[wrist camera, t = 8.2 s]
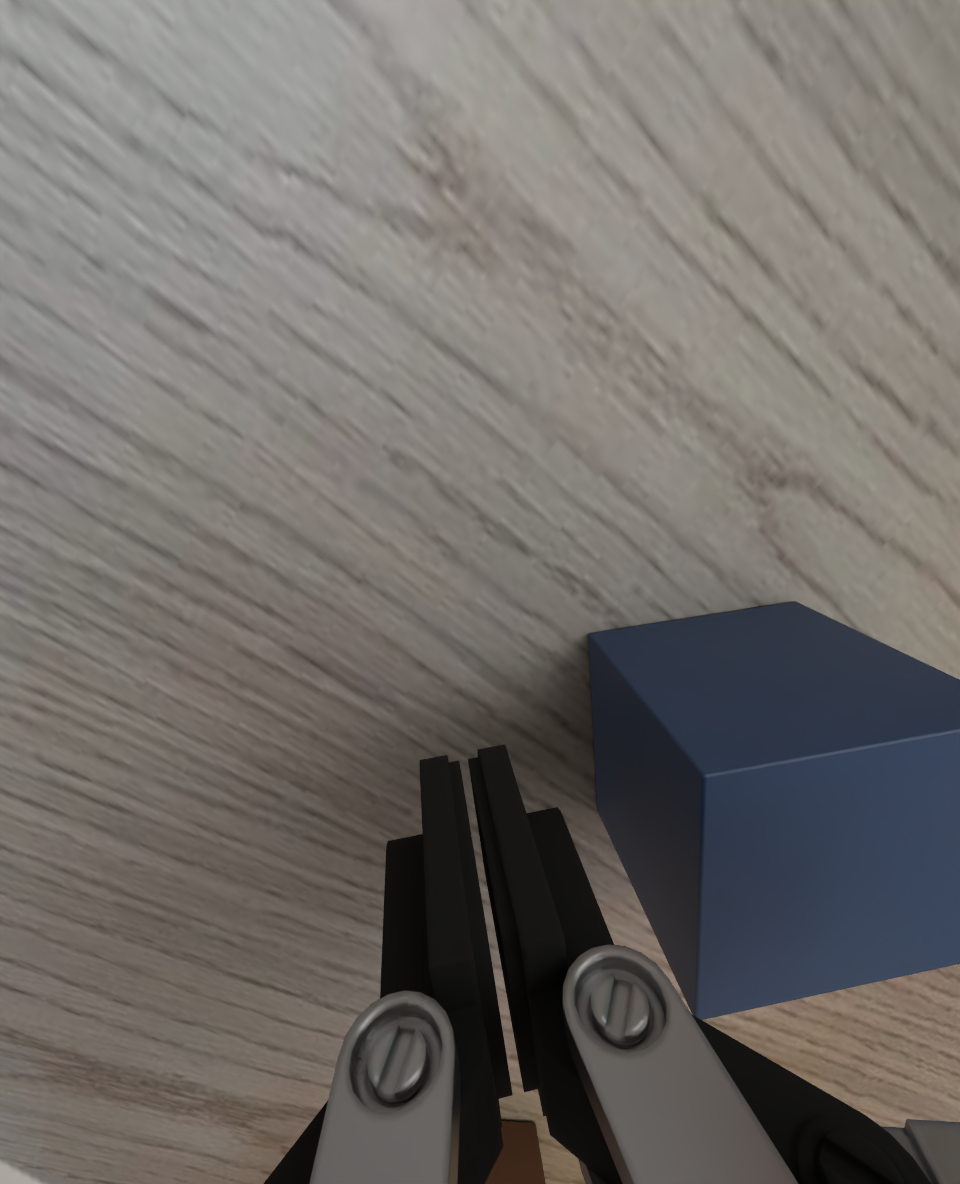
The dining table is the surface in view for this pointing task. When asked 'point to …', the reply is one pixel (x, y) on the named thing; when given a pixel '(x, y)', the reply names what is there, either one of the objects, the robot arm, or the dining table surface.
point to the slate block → (780, 801)
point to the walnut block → (518, 1156)
